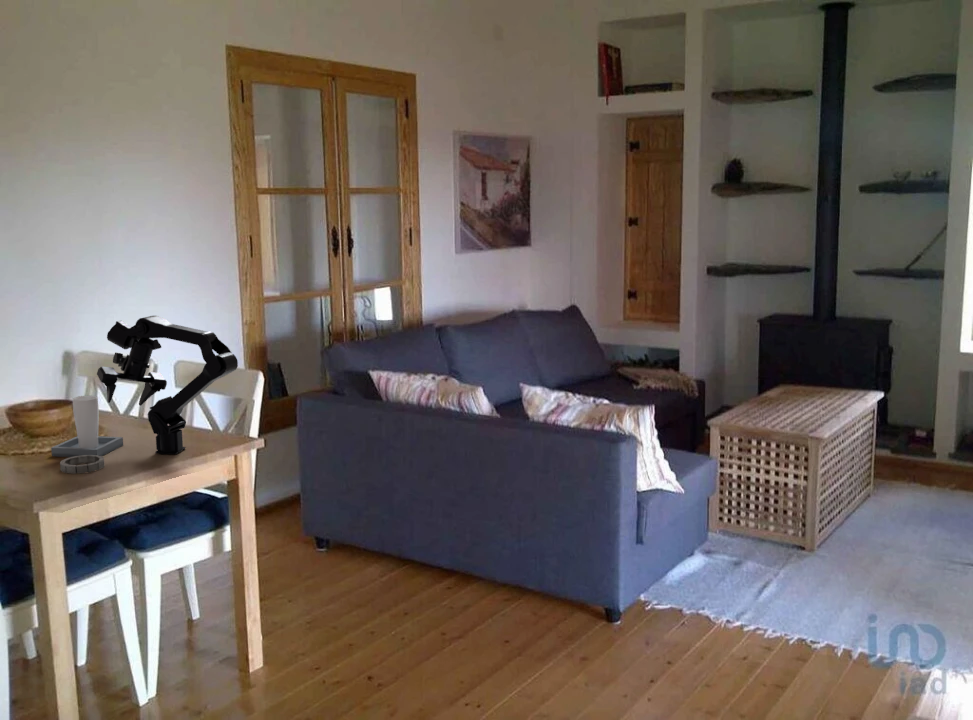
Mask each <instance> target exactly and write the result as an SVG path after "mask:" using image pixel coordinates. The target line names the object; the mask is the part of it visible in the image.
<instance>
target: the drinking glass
mask: <svg viewBox="0 0 973 720" xmlns="http://www.w3.org/2000/svg"><path fill="white" fill-rule="evenodd" d="M99 406H100V405H99V397H98V396H96V395H93V394H91V395H78V396H75V397H72V410H73V418H74V424H75V429H76V435H77V437H78V445H79V448H97V447H98V445H99V444H98V436H99V422H100V421H99V416H100V415H99V414H100V413H99V412H100V411H99Z"/></svg>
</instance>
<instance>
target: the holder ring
mask: <svg viewBox="0 0 973 720" xmlns="http://www.w3.org/2000/svg"><path fill="white" fill-rule="evenodd" d="M59 466H60V467H59V468H60V472H63V473H64V474H75V475H76V474H77V473H78V474H86V473H85V472H88V473H92V472H91V471H93V472H96V471H95V470H97V471H100V470H101V468H102V469H103V468H105V457H104V456H99V455H81V456H74V457H65V459H62V460H61V461H60V462H59ZM99 469H100V470H99Z"/></svg>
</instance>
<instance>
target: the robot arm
mask: <svg viewBox="0 0 973 720" xmlns="http://www.w3.org/2000/svg"><path fill="white" fill-rule="evenodd" d="M162 338H163V339H169V340H173V341H179V342H182V343H187V344H191V345H195V346H198V347H199V349H200V352H201V356H202V358H203V361H204V362H205V364H204V367H203V368H202V371H201V373H199V374H198V375H197V376H196V377H194V378H193V380H191V381H190V382H189V383H188V384H186V386H184V387H183V388H181V390H180V391H178V392H177V393H176V394H175V395H173V396H171V395H170V396H166V397H165V398H161V399H158V400H157V401H156V402H155V404H154V405H153V406H150V407H149V409H150V410H149V411H148V413H147V420H148V422H149V425H150V427H151V430H152V431H153V432H152V433H153V434H155V435H156V436H155V445H156V446H155V449H156V450H155V454H158V455H159V454H161V455H177V454H179V453H181V452H183V451H184V450H186V449H185V448H186V446H184V443H183V429H185V428H186V424H187V421H186V420H185V419H184V417H183V416H182V413H183V410H184V408H185V407H186V406H187V405H188V404H190V402H192V401H193V400H194V399H196V398H197V397H198V396H199V395H200V394H201V393H203V392H204V391H205V390H206V389H207V388H209V386H211V385H212V384H213V383H215V382H216V381H217V380H220V379H221V378H224V377H225V376H228V375H230V373H233V372H235V371H236V370H237V369H238V367H239V362H238V361H239V360H238V358H237V356H236V355H235V354H234V353H233V352H232V350H231V349H230V348H229V346H227V345H226V344H225V343H223V342H222V341H221V340H220V339H219V338H218V336H217V335H216V334H215V333H214V332H212V331H210V330H209V331H208V330H201V329H197V328H193V327H188V326H183V325H178V324H174V323H171V322H169V321H168V319H166V318H163V317H161V316H159V315H150V316H145V317H140V318H138V319H137V321H136V322H135V325H133V326H131V325H129V324H127V323H126V322H124V321H122V320H117V321H115V324H114V325H113V326H112V327H111V328H110V329H109V331H108V332H107V333H106V339H107V341H108V342H110V343H112V344H113V345H116V346H117V347H119V348H122V350H128V349H130V352H129V353H126V354H127V355H124V353H121V352H114V354H113V357H112V363H113V364H116V365H118V366H117V367H119V368H120V370H121V371H122V372H117V371H116V369H115V368H114V367H110V366H100V367H98V369H97V372H96V376H97V377H98V379H99V381H100V382H101V383H102V384H104V386H106V399H107V404H108V403H109V404H110V403H111V401H112V400H113V397H114V394H115V391H116V388H117V384H116V383H117V382H118V381H119V380H120V381H130V382H139V383H144V387H143V390H142V393H141V396H140V398H139V401H138V405H139V406H142V405H144V403H146V401H147V400H149V399H150V398H151V397H152V396H153V395H155V394H156V393H157V392H161V390H163V391H164V390H166V387H167V385H168V382H167V380H166V378H165V377H164V376H163V374H162V373H161V372H154V371H153V372H152V371H150V372H148V373H147V369H149V368H150V363H149V362H150V360H151V356H152V354H153V352H154V351H155V350H159V349H161V348H162V345H161V343H160V342H159V340H158V339H162ZM215 353H216V354H215ZM146 373H147V375H145V374H146ZM183 449H184V450H183ZM182 450H183V451H182ZM180 451H181V452H180ZM178 452H179V453H178Z"/></svg>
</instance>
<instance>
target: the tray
mask: <svg viewBox="0 0 973 720" xmlns="http://www.w3.org/2000/svg"><path fill="white" fill-rule="evenodd" d="M98 444H99V445H98V447H97V448H79V445H78V437H77V436H74V437H73V438H70V439H68V440H66V441H64V442H63V441H62V442H61V443H59V444H56V445H54V446H51V448H50V451H51V457H59V458H60V457H63V458H64V457H65V458H70V457H74V456H81V455H99V456H102V457H104V456H105V455H108V454H109V453H111V452H113V451H115V450H117V449H119V448H121V447H123V446H124V437H122V436H102V435H101V436H100V435H98Z"/></svg>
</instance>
